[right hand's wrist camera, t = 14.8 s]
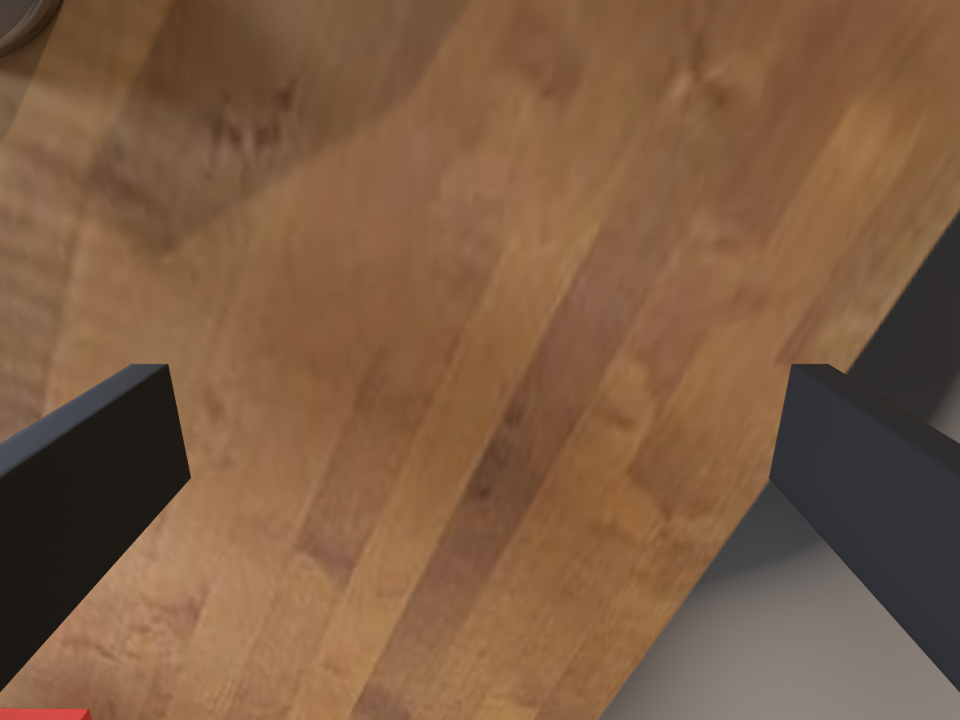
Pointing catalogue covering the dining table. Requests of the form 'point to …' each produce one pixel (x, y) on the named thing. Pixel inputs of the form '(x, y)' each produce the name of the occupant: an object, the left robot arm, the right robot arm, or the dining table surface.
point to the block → (45, 714)
